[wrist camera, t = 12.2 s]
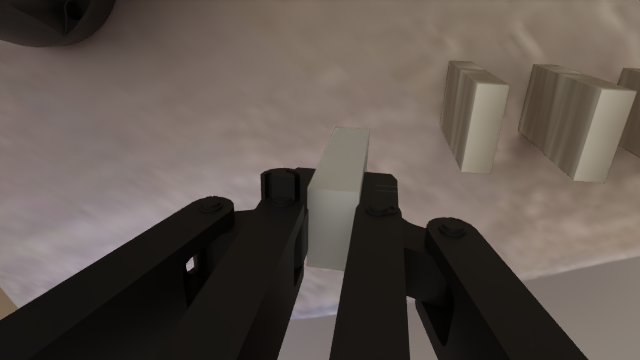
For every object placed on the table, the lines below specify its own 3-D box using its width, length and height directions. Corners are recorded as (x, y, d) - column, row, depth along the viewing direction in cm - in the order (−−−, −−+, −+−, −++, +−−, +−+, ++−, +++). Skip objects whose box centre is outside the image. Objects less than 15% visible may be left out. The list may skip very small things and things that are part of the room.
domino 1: (439, 125, 31) (461, 171, 22) (449, 60, 29) (477, 83, 20) (460, 126, 31) (490, 174, 22) (471, 61, 29) (509, 85, 20)
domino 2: (518, 129, 31) (573, 180, 21) (533, 64, 28) (602, 89, 19) (539, 131, 30) (604, 183, 21) (556, 65, 28) (637, 91, 19)
